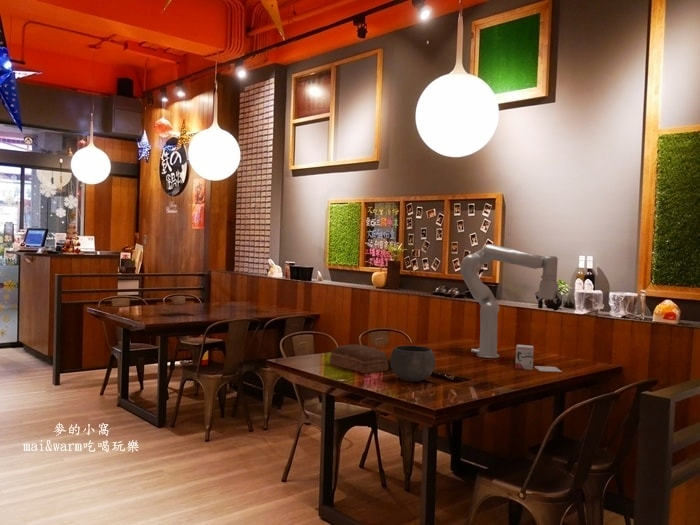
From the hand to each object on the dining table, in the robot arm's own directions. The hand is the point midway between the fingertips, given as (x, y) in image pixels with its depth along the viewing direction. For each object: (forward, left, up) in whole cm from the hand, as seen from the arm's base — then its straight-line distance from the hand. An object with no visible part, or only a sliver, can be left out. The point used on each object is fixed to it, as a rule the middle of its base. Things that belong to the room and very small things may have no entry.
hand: (547, 309), depth 335 cm
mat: (-5, -24, -29) cm, 38 cm away
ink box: (-17, -24, -29) cm, 41 cm away
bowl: (-76, -63, -29) cm, 103 cm away
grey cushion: (-102, -36, -29) cm, 112 cm away
